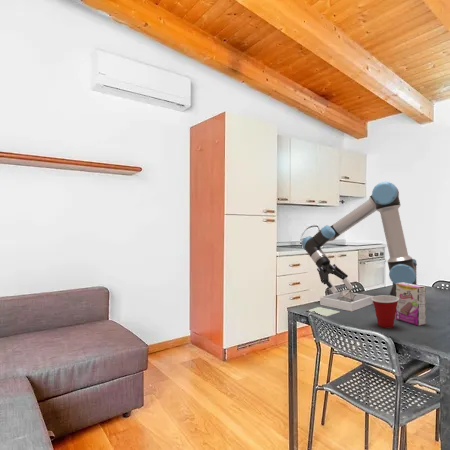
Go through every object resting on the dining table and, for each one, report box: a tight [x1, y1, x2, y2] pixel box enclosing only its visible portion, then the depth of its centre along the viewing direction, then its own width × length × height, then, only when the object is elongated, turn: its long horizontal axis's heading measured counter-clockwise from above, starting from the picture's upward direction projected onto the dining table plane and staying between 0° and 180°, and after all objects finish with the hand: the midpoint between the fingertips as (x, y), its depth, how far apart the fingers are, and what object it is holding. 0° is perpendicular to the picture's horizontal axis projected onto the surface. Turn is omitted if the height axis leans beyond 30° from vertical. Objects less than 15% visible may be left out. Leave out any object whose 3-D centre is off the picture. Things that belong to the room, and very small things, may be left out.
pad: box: [308, 306, 341, 317], centre depth 168 cm, size 12×11×1 cm
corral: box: [319, 291, 374, 312], centre depth 182 cm, size 18×22×4 cm
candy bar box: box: [395, 282, 427, 327], centre depth 150 cm, size 11×5×16 cm, turn 26°
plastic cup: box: [371, 294, 399, 329], centre depth 146 cm, size 11×11×12 cm
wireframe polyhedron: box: [337, 288, 356, 303], centre depth 182 cm, size 9×8×10 cm
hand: (343, 290), depth 183 cm, fingers open, 13 cm apart
